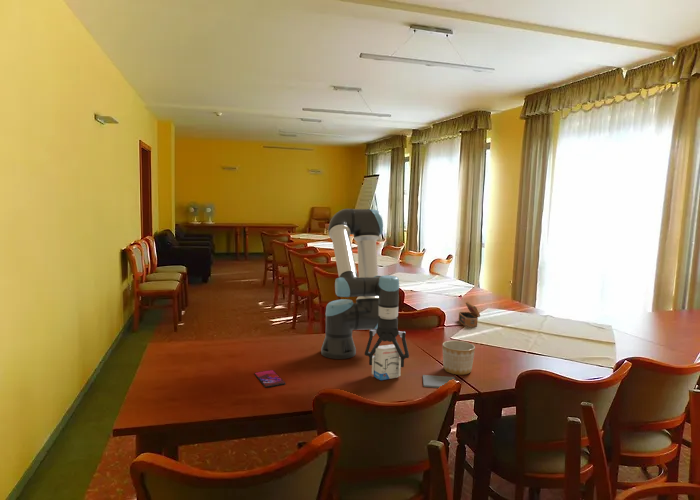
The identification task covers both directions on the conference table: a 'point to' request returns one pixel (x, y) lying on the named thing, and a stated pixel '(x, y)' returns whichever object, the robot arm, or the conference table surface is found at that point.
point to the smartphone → (269, 379)
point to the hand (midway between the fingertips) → (386, 374)
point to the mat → (435, 380)
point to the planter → (458, 357)
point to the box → (469, 316)
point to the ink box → (386, 362)
